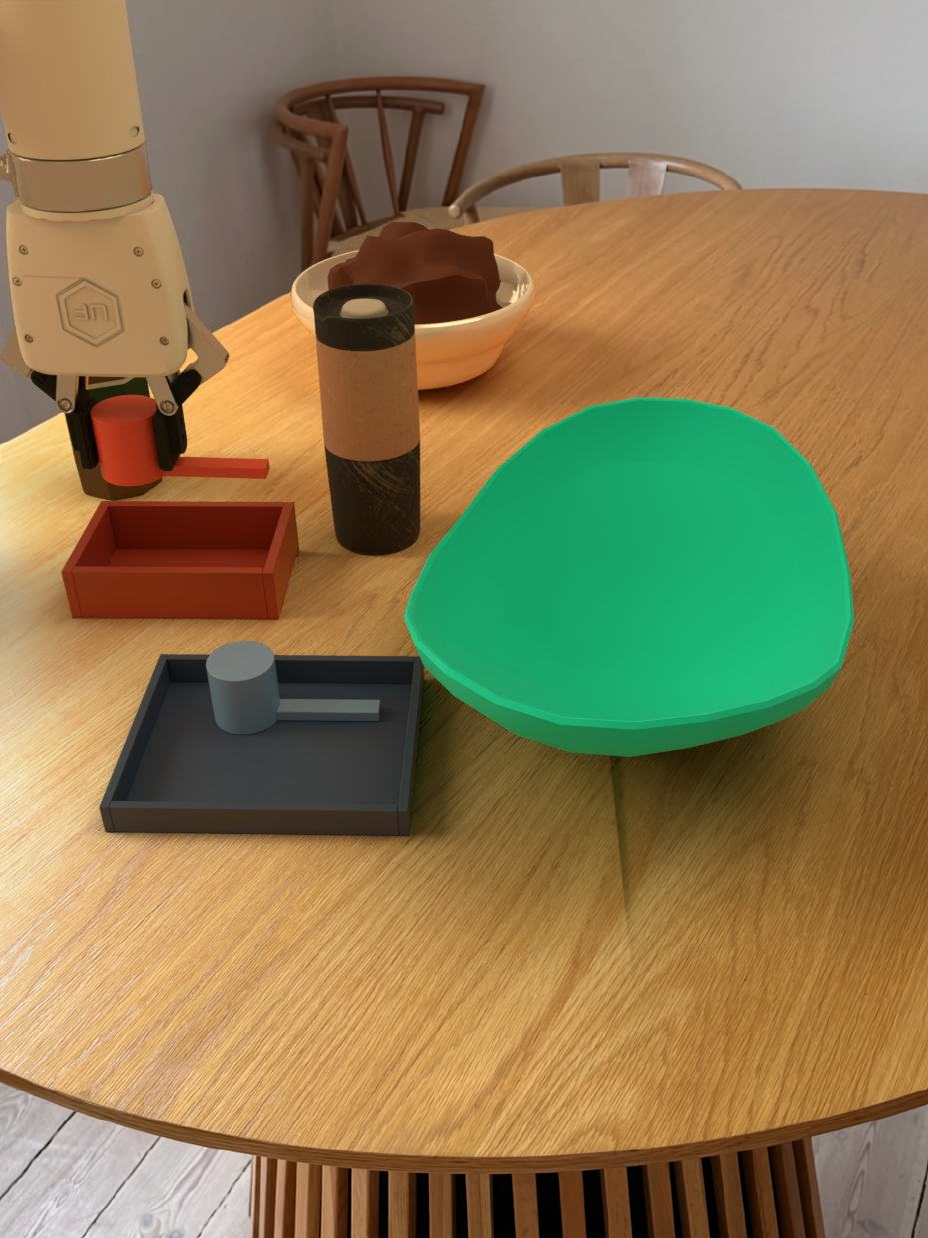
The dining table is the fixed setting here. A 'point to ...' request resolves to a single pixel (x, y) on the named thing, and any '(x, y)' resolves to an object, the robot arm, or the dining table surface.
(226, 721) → the grey handled cylinder
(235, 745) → the dark grey tray
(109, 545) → the red bin
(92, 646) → the dining table surface
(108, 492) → the beer bottle
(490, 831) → the dining table surface
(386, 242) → the bowl of brown chunks
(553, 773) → the dining table surface
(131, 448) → the red measuring scoop
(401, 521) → the travel mug
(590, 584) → the table top decor
